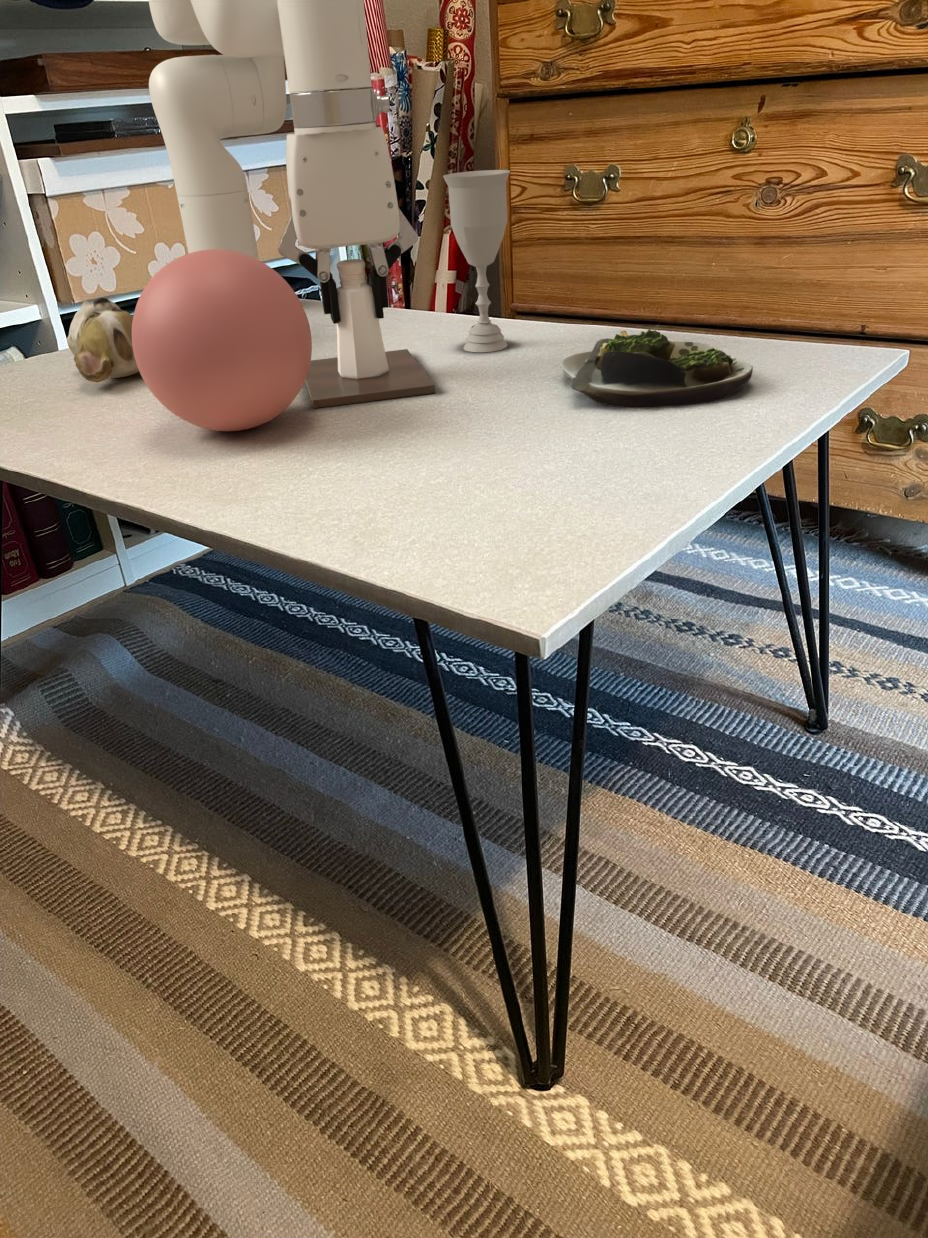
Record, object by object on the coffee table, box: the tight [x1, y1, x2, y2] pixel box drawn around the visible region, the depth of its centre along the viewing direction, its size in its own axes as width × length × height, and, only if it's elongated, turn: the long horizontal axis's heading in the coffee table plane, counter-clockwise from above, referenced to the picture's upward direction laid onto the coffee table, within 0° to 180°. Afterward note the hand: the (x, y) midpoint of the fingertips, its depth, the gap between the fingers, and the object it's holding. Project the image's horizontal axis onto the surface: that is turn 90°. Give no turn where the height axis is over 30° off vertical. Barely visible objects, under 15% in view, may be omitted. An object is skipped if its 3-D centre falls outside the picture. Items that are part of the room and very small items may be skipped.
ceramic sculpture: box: [66, 297, 140, 383], centre depth 106 cm, size 11×9×15 cm
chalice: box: [442, 169, 511, 353], centre depth 104 cm, size 7×7×18 cm
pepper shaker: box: [336, 258, 389, 379], centre depth 96 cm, size 5×5×11 cm
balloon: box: [132, 249, 313, 432], centre depth 86 cm, size 15×20×15 cm
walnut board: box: [305, 348, 436, 409], centre depth 99 cm, size 16×12×1 cm
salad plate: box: [560, 328, 753, 409], centre depth 92 cm, size 19×18×5 cm
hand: (356, 316), depth 96 cm, fingers closed on pepper shaker, 3 cm apart
